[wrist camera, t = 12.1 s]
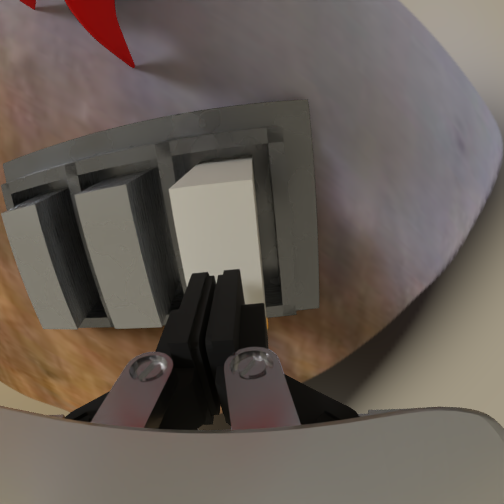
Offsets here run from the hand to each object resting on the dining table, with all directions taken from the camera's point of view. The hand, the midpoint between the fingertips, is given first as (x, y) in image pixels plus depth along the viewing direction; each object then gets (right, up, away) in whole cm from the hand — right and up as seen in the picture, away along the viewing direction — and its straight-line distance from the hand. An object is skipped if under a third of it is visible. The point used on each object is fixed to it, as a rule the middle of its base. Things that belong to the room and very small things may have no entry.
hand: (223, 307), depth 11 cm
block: (0, +4, +9) cm, 10 cm away
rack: (-6, +4, +9) cm, 12 cm away
